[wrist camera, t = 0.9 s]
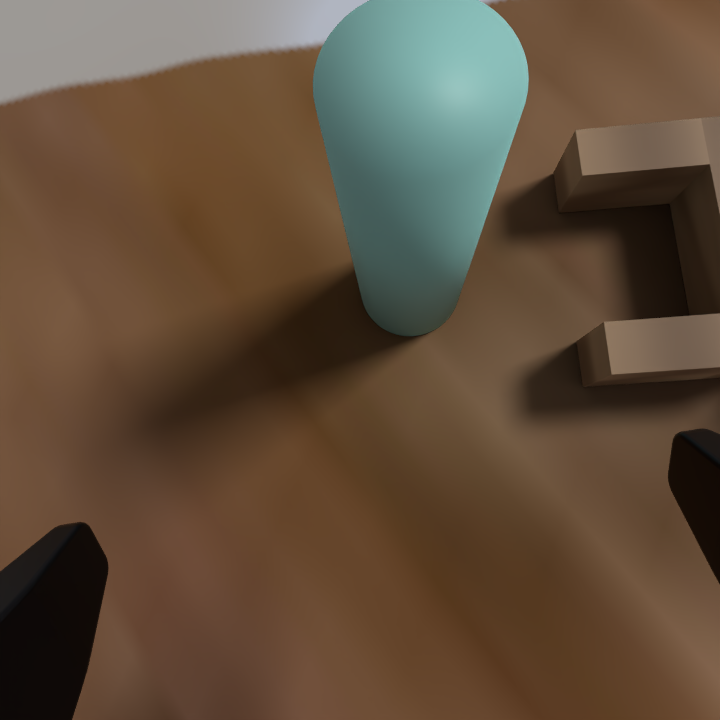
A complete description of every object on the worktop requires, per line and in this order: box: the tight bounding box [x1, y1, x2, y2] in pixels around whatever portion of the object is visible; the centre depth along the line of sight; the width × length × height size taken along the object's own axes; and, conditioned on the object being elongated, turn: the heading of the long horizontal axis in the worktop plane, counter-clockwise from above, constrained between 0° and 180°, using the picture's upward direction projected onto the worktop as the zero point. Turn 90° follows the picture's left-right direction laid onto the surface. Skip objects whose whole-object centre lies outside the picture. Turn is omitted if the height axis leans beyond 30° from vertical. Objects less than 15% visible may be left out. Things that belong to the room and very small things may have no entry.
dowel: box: [313, 0, 529, 336], centre depth 16 cm, size 4×4×12 cm
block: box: [554, 116, 720, 387], centre depth 21 cm, size 6×9×3 cm, turn 3°
